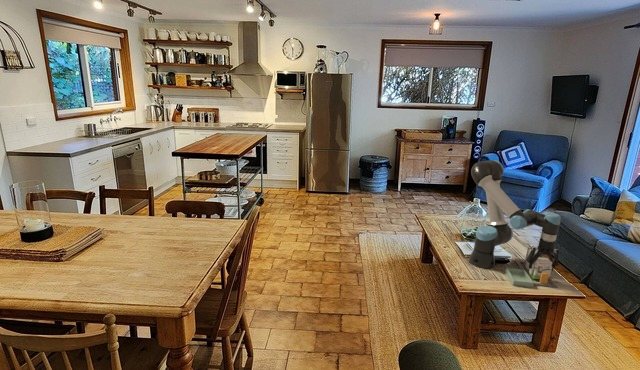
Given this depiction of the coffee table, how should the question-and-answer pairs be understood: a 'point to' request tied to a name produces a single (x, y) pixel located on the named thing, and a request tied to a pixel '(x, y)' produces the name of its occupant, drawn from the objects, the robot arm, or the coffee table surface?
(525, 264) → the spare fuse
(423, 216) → the coffee table surface
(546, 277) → the grey rectangular frame
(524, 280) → the tray
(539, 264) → the ink box
